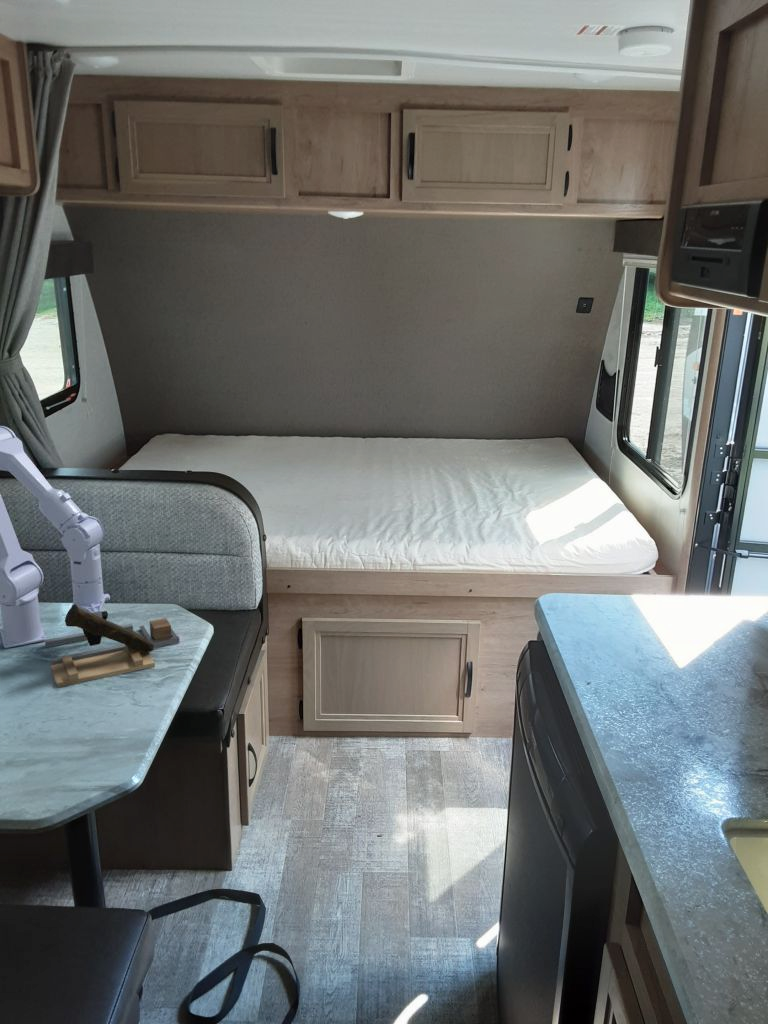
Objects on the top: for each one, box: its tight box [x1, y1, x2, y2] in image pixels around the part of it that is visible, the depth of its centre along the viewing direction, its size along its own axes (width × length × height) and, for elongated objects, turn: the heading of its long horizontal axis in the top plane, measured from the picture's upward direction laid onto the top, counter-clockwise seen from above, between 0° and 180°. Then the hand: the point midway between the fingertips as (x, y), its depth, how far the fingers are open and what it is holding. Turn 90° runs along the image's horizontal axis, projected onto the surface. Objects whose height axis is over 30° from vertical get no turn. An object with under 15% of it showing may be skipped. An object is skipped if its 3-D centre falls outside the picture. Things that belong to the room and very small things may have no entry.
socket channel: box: [44, 623, 134, 665], centre depth 165 cm, size 10×18×1 cm, turn 120°
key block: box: [149, 617, 172, 641], centre depth 169 cm, size 4×3×4 cm
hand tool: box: [64, 604, 155, 653], centre depth 157 cm, size 19×4×5 cm
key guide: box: [139, 625, 181, 649], centre depth 170 cm, size 10×6×1 cm, turn 30°
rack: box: [50, 645, 156, 688], centre depth 156 cm, size 8×18×2 cm, turn 120°
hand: (92, 640), depth 164 cm, fingers open, 4 cm apart
